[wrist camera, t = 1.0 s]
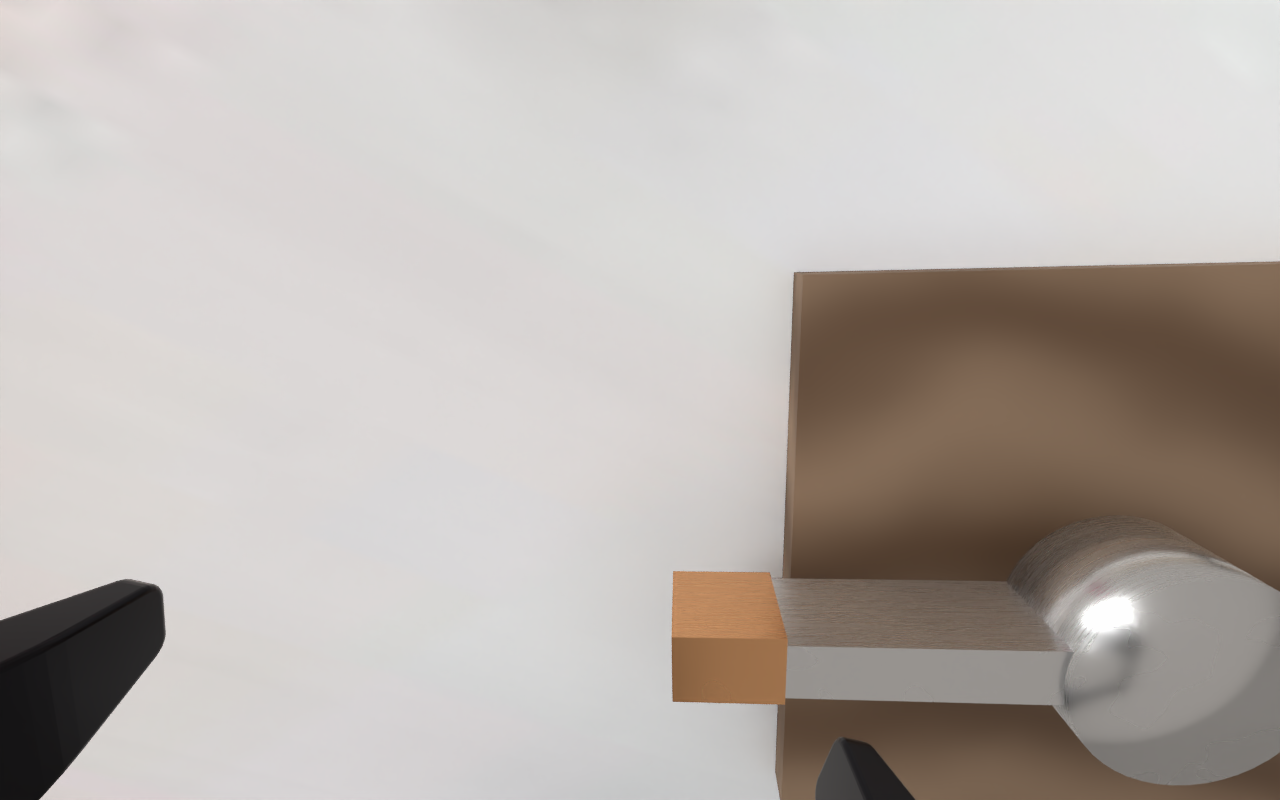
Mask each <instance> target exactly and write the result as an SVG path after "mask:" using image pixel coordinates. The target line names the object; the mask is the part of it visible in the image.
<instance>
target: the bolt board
mask: <svg viewBox="0 0 1280 800" xmlns="http://www.w3.org/2000/svg"><path fill="white" fill-rule="evenodd" d="M1111 515H1124V516H1135V517H1140V518H1146V519H1149V520H1152V521H1155V522H1158V523H1160V524H1162V525H1164V526H1167V527H1169V528H1171V529H1172V530H1174V531H1176V532H1178V533H1179V534H1181V535H1183V536H1184V537H1186V538H1188V539H1190V540H1191V541H1193V542H1195V543H1197V544H1198V545H1200V546H1202V547H1203V548H1205V549H1207V550H1209V551H1210V552H1212V553H1214V554H1215V555H1217V556H1219V557H1221V558H1222V559H1224V560H1226V561H1228V562H1229V563H1231V564H1233V565H1234V566H1236V567H1238V568H1240V569H1241V570H1243V571H1245V572H1247V573H1248V574H1250V575H1252V576H1253V577H1255V578H1257V579H1259V580H1260V581H1262V582H1264V583H1265V584H1267V585H1269V586H1271V587H1272V588H1274V589H1276V590H1278V591H1279V592H1280V262H1237V263H1193V264H1148V265H1104V266H1059V267H1015V268H970V269H925V270H881V271H836V272H794V286H793V313H792V340H791V367H790V393H789V420H788V447H787V473H786V500H785V527H784V554H783V578H790V579H870V580H950V581H1006V580H1007V578H1008V576H1009V574H1010V573H1011V571H1012V569H1013V568H1014V567H1015V565H1016V564H1017V562H1018V561H1019V560H1020V559H1021V558H1022V557H1023V556H1024V554H1025V553H1026V552H1027V551H1028V550H1029V549H1031V548H1032V547H1033V546H1034V545H1035V544H1036V543H1038V542H1039V541H1040V540H1042V539H1043V538H1045V537H1046V536H1048V535H1049V534H1051V533H1053V532H1055V531H1057V530H1058V529H1060V528H1062V527H1065V526H1067V525H1070V524H1072V523H1075V522H1078V521H1082V520H1085V519H1089V518H1094V517H1100V516H1111ZM839 737H846V738H850V739H855V740H859V741H864V742H867V743H869V744H870V745H871V746H872V747H873V748H874V749H875V750H876V751H877V752H878V754H879V755H880V756H881V757H882V758H883V760H884V761H885V762H886V763H887V765H888V766H889V767H890V768H891V770H892V771H893V772H894V773H895V775H896V776H897V777H898V778H899V780H900V781H901V782H902V783H903V785H904V786H905V787H906V788H907V790H908V791H909V792H910V793H911V794H912V796H913V797H914V798H915V799H916V800H1280V753H1278V754H1277V755H1275V756H1274V757H1272V758H1271V759H1269V760H1268V761H1266V762H1264V763H1262V764H1260V765H1258V766H1257V767H1255V768H1253V769H1250V770H1248V771H1246V772H1243V773H1241V774H1239V775H1236V776H1232V777H1229V778H1226V779H1223V780H1219V781H1214V782H1209V783H1204V784H1195V785H1162V784H1154V783H1149V782H1144V781H1140V780H1137V779H1134V778H1130V777H1127V776H1125V775H1123V774H1121V773H1119V772H1116V771H1114V770H1113V769H1111V768H1110V767H1108V766H1106V765H1105V764H1103V763H1102V762H1101V761H1099V760H1098V759H1097V758H1096V757H1095V756H1093V755H1092V754H1091V752H1090V751H1089V750H1088V749H1087V748H1086V747H1085V746H1084V744H1083V743H1082V742H1081V741H1080V740H1079V738H1078V737H1077V736H1076V735H1075V733H1074V732H1073V731H1072V730H1071V728H1070V727H1069V726H1068V725H1067V723H1066V722H1065V721H1064V720H1063V718H1062V717H1061V716H1060V715H1059V713H1058V712H1057V711H1056V710H1055V708H1054V707H1053V706H1052V705H1024V704H986V703H948V702H910V701H872V700H833V699H795V698H785V705H782V704H778V714H777V741H776V768H775V773H776V778H777V784H778V790H779V795H780V800H815V789H816V783H817V779H818V776H819V774H820V772H821V770H822V767H823V765H824V763H825V760H826V758H827V756H828V754H829V751H830V749H831V747H832V745H833V743H834V741H835V740H836V739H837V738H839Z"/></svg>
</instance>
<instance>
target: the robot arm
mask: <svg viewBox="0 0 1280 800" xmlns="http://www.w3.org/2000/svg"><path fill="white" fill-rule="evenodd" d="M165 635H166V630H165V617H164V603H163V593H162V591H161V589H160V588H159V587H158V586H156V585H154V584H150V583H145V582H141V581H136V580H132V579H124V580H120V581H116V582H113V583H110V584H107V585H104V586H101V587H98V588H95V589H92V590H89V591H86V592H83V593H80V594H77V595H75V596H72V597H69V598H66V599H63V600H60V601H57V602H54V603H51V604H48V605H45V606H42V607H39V608H36V609H33V610H30V611H27V612H24V613H21V614H18V615H15V616H12V617H9V618H6V619H3V620H0V800H39V799H40V798H41V797H42V796H43V795H44V794H45V793H46V792H47V791H48V790H49V788H50V787H51V786H52V785H53V784H54V783H55V782H56V781H57V779H58V778H59V777H60V776H61V775H62V774H63V773H64V772H65V770H66V769H67V768H68V767H69V766H70V764H71V763H72V762H73V761H74V760H75V758H76V757H77V756H78V755H79V754H80V752H81V751H82V750H83V749H84V747H85V746H86V745H87V744H88V742H89V741H90V740H91V738H92V737H93V736H94V735H95V733H96V732H97V731H98V730H99V728H100V727H101V726H102V724H103V723H104V722H105V721H106V719H107V718H108V717H109V716H110V714H111V713H112V712H113V711H114V709H115V708H116V707H117V705H118V704H119V703H120V702H121V700H122V699H123V698H124V697H125V695H126V694H127V693H128V691H129V690H130V689H131V688H132V686H133V685H134V684H135V683H136V681H137V680H138V679H139V678H140V676H141V675H142V674H143V672H144V671H145V670H146V669H147V667H148V666H149V665H150V664H151V662H152V661H153V660H154V658H155V657H156V656H157V654H158V653H159V651H160V649H161V648H162V645H163V643H164V640H165ZM815 800H916V799H915V798H914V797H913V796H912V794H911V793H910V792H909V791H908V790H907V788H906V787H905V786H904V785H903V783H902V782H901V781H900V780H899V778H898V777H897V776H896V775H895V773H894V772H893V771H892V770H891V768H890V767H889V766H888V765H887V763H886V762H885V761H884V760H883V758H882V757H881V756H880V755H879V754H878V752H877V751H876V750H875V749H874V748H873V747H872V746H871V745H870V744H869V743H867V742H864V741H859V740H855V739H850V738H846V737H839V738H837V739H836V740H835V741H834V743H833V745H832V747H831V749H830V751H829V754H828V756H827V758H826V760H825V763H824V765H823V767H822V770H821V772H820V774H819V776H818V779H817V783H816V789H815Z"/></svg>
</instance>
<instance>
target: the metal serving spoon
mask: <svg viewBox="0 0 1280 800" xmlns="http://www.w3.org/2000/svg"><path fill="white" fill-rule="evenodd" d="M672 692H673V702H708V703H745V704H782V705H785V698H795V699H833V700H872V701H910V702H948V703H986V704H1024V705H1052V706H1053V707H1054V708H1055V710H1056V711H1057V712H1058V713H1059V715H1060V716H1061V717H1062V718H1063V720H1064V721H1065V722H1066V723H1067V725H1068V726H1069V727H1070V728H1071V730H1072V731H1073V732H1074V733H1075V735H1076V736H1077V737H1078V738H1079V740H1080V741H1081V742H1082V743H1083V744H1084V746H1085V747H1086V748H1087V749H1088V750H1089V751H1090V752H1091V754H1092V755H1093V756H1095V757H1096V758H1097V759H1098V760H1099V761H1101V762H1102V763H1103V764H1105V765H1106V766H1108V767H1110V768H1111V769H1113V770H1114V771H1116V772H1119V773H1121V774H1123V775H1125V776H1127V777H1130V778H1134V779H1137V780H1140V781H1144V782H1149V783H1154V784H1162V785H1195V784H1204V783H1209V782H1214V781H1219V780H1223V779H1226V778H1229V777H1232V776H1236V775H1239V774H1241V773H1243V772H1246V771H1248V770H1250V769H1253V768H1255V767H1257V766H1258V765H1260V764H1262V763H1264V762H1266V761H1268V760H1269V759H1271V758H1272V757H1274V756H1275V755H1277V754H1278V753H1280V592H1279V591H1278V590H1276V589H1274V588H1272V587H1271V586H1269V585H1267V584H1265V583H1264V582H1262V581H1260V580H1259V579H1257V578H1255V577H1253V576H1252V575H1250V574H1248V573H1247V572H1245V571H1243V570H1241V569H1240V568H1238V567H1236V566H1234V565H1233V564H1231V563H1229V562H1228V561H1226V560H1224V559H1222V558H1221V557H1219V556H1217V555H1215V554H1214V553H1212V552H1210V551H1209V550H1207V549H1205V548H1203V547H1202V546H1200V545H1198V544H1197V543H1195V542H1193V541H1191V540H1190V539H1188V538H1186V537H1184V536H1183V535H1181V534H1179V533H1178V532H1176V531H1174V530H1172V529H1171V528H1169V527H1167V526H1164V525H1162V524H1160V523H1158V522H1155V521H1152V520H1149V519H1146V518H1140V517H1135V516H1124V515H1111V516H1100V517H1094V518H1089V519H1085V520H1082V521H1078V522H1075V523H1072V524H1070V525H1067V526H1065V527H1062V528H1060V529H1058V530H1057V531H1055V532H1053V533H1051V534H1049V535H1048V536H1046V537H1045V538H1043V539H1042V540H1040V541H1039V542H1038V543H1036V544H1035V545H1034V546H1033V547H1032V548H1031V549H1029V550H1028V551H1027V552H1026V553H1025V554H1024V556H1023V557H1022V558H1021V559H1020V560H1019V561H1018V562H1017V564H1016V565H1015V567H1014V568H1013V569H1012V571H1011V573H1010V574H1009V576H1008V578H1007V580H1006V581H950V580H870V579H790V578H771V576H770V573H769V572H685V571H673V605H672Z"/></svg>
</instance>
